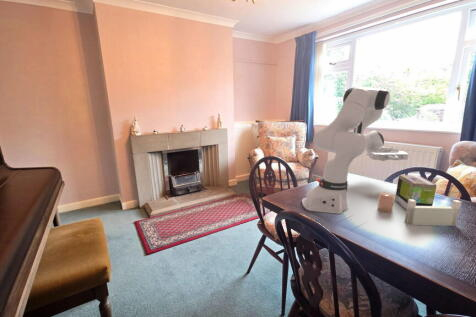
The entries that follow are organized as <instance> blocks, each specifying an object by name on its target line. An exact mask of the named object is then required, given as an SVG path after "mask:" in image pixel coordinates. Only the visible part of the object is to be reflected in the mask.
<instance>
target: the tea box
mask: <svg viewBox="0 0 476 317" xmlns="http://www.w3.org/2000/svg"><path fill="white" fill-rule="evenodd" d="M436 191H437V184H436V183H434V182H432V181H430V180H428V179H427V178H424V177H423V176H420V175H413V174H412V175H410V174H399V175H398V179H397V185H396V193H395V195H394V201H396V202H397V203H399V205H400V206H402V207H403V208H404V209H406V210H407V205H408V199H413V200H415V201H416V206H434V205H433V204H434V201H435V195H436Z"/></svg>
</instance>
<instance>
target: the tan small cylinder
mask: <svg viewBox="0 0 476 317" xmlns="http://www.w3.org/2000/svg"><path fill="white" fill-rule="evenodd" d="M394 201H395V195H394V194H392V193H388V192H380V193H379V197H378V203H377V210H378V212H382V213H387V214H391V213H393V209H394V208H393V207H394Z"/></svg>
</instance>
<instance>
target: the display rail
mask: <svg viewBox="0 0 476 317" xmlns="http://www.w3.org/2000/svg"><path fill="white" fill-rule="evenodd" d="M461 207H462V201H460V200H457V199H452V201H451V205H450V206H448V205H447V206H443V205H442V206H437V205H432V206H416V201H415V200H413V199H408V205H407V210H406V211H405V218H404V223H405V224H406V225H408V226H447V227H448V226H454V227H455V226H457V224H458V219H459V216H460V215H459V214H460V210H461Z"/></svg>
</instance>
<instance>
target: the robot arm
mask: <svg viewBox="0 0 476 317" xmlns="http://www.w3.org/2000/svg"><path fill="white" fill-rule="evenodd" d="M390 98H391V97H390V92H389V91H388V90H387V89H384V88H380V89H379V88H374V87H373V88H371V87H350V88H348V89H347V90H345V92H344V95H343V100H342V101H343V104H342V106H341V108H340V109H339V112H338V113H337V116H336V117H335V119H333V121H332V122H330V123H329V124H328V125H327V126H326V127H324V128H322V129H320V130H318V131H317V132H316V133H315V134H314V135H313V141H312V142H313V145H314V148H316V149H319V150H321V151H323V152H328V153H334V154H335V156H334V159H330V160H328V161H327V162H326V163H325V164H324V168H323V178H320V177H317V178H316V182H317V183H318V185H317V186H315V187H314V188H312V189H310V190H308V192H307V194H306V197H303V198H302V199H301V204H302V206H303V207H304V209H306V210H307V211H310V212H319V213H327V214H328V213H329V214H337V215H338V214H342V213H343V212H345V211H347V210H348V207H349V206H348V203H347V191H348V187H349V186H348V183H349V182H348V175H349V169H350V166H351V164H352V162H353V161H354V160H355V159H356V158H357V157H359V156H360V155H361V156H362V154H364V153H366V155H367V156H368V157H369V158H370V159H371V160H374V161H377V160H378V161H380V162H386V161H401V160H403V161H404V160H405V161H407V160H408V159H409V153H408V152H405V151H403V150H400V149H399V148H394V147H388V146H384V145H385V139H384V136H383V134H382V133H381V132H379V131H377V130H371V131H368V132H366V133H364V131H365V130H366V129H367V128H368V127H369V126H371V125H372V124H374V123H375V122H377V121H379V119H380V118H381V117H382V114H383V112H384V110H385V109H386V108H387V106H388V104H389V103H390V100H391V99H390ZM351 130H353V131H351Z"/></svg>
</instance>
